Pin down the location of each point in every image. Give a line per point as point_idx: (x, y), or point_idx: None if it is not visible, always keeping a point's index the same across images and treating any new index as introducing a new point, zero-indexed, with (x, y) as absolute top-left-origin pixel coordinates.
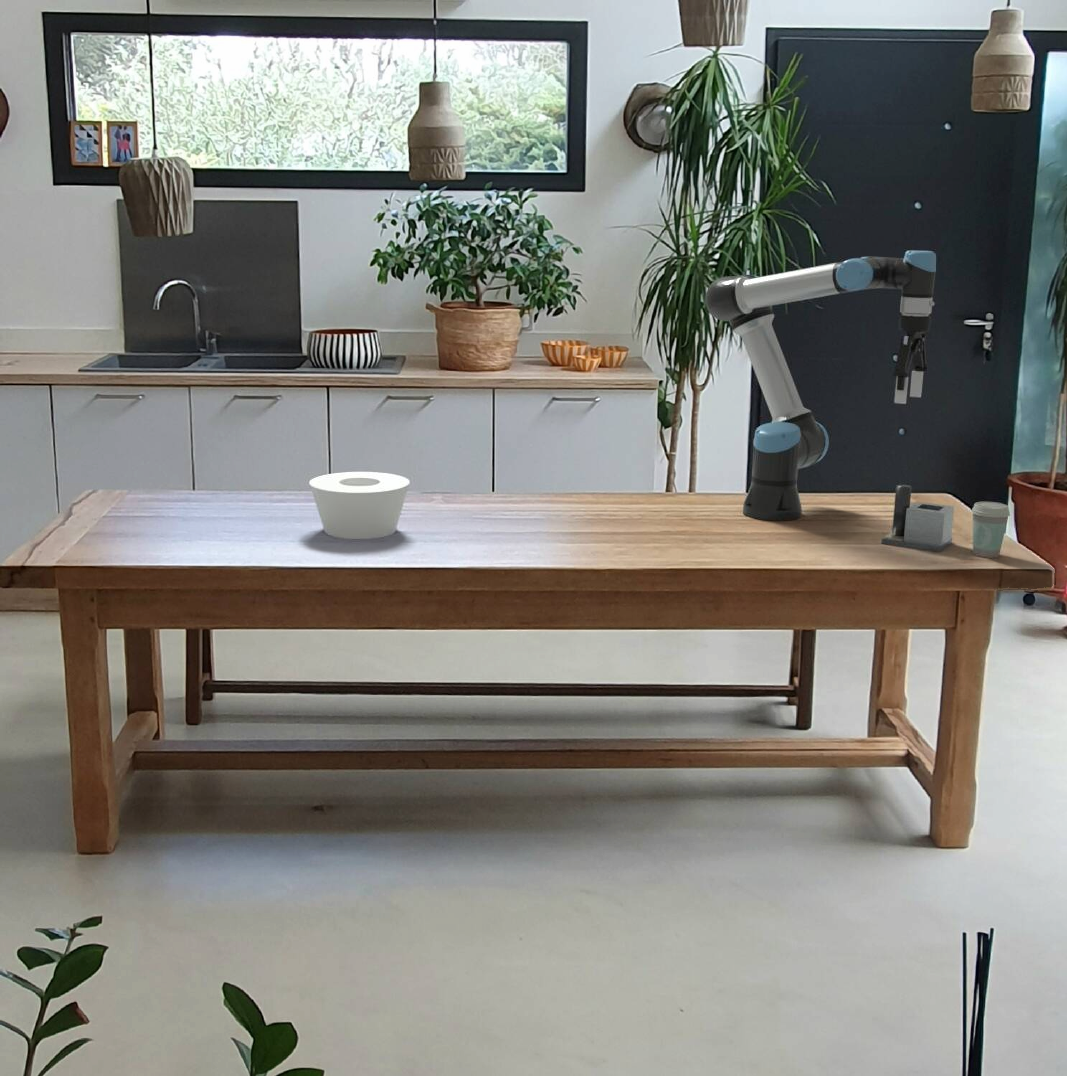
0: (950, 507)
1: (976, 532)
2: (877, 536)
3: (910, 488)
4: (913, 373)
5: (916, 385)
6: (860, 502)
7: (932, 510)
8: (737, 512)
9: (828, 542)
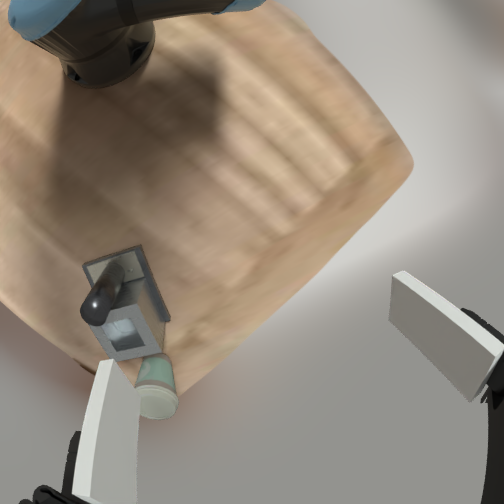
0: (150, 352)
1: (137, 377)
2: (110, 235)
3: (97, 325)
4: (480, 357)
5: (427, 334)
6: (303, 87)
7: (110, 345)
8: None
9: (34, 213)
